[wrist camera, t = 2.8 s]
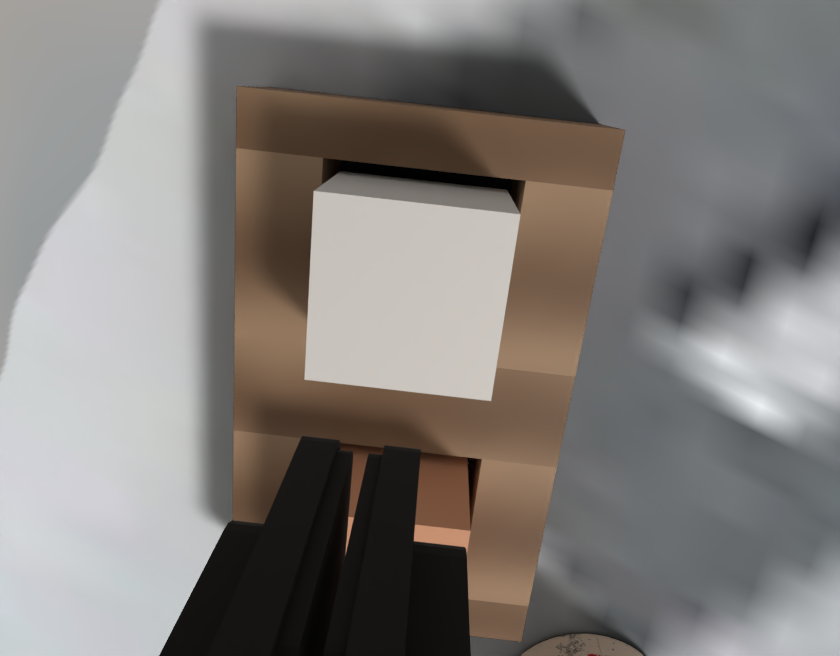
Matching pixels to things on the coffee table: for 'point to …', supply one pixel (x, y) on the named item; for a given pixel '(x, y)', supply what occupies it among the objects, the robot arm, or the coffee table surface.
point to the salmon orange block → (426, 496)
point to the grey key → (408, 284)
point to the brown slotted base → (401, 410)
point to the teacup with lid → (582, 646)
